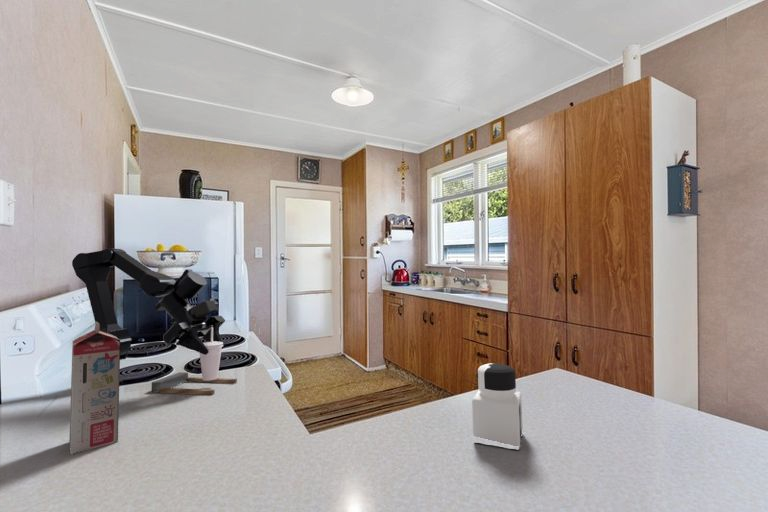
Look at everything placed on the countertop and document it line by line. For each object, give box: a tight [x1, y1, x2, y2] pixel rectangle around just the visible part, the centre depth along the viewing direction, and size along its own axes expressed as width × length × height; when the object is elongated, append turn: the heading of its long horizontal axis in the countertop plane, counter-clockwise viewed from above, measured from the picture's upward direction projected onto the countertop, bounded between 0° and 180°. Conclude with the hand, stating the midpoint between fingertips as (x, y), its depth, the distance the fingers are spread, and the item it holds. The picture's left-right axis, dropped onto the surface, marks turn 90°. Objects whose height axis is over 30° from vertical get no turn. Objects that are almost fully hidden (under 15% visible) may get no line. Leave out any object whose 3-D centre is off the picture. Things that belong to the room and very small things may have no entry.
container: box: [471, 362, 524, 447], centre depth 65 cm, size 8×8×13 cm
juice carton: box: [68, 322, 121, 455], centre depth 67 cm, size 7×7×22 cm
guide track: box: [151, 371, 238, 396], centre depth 99 cm, size 18×11×2 cm, turn 80°
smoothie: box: [199, 327, 224, 381], centre depth 99 cm, size 6×6×14 cm
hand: (215, 351), depth 99 cm, fingers closed on smoothie, 6 cm apart
